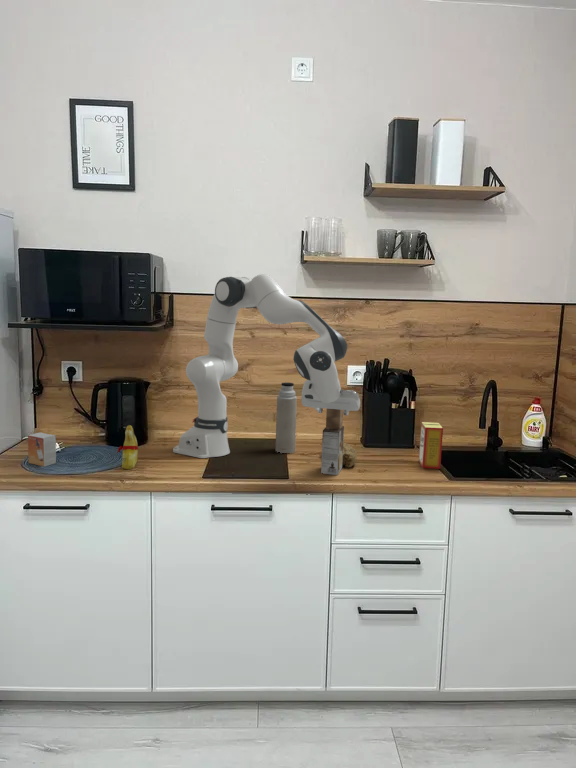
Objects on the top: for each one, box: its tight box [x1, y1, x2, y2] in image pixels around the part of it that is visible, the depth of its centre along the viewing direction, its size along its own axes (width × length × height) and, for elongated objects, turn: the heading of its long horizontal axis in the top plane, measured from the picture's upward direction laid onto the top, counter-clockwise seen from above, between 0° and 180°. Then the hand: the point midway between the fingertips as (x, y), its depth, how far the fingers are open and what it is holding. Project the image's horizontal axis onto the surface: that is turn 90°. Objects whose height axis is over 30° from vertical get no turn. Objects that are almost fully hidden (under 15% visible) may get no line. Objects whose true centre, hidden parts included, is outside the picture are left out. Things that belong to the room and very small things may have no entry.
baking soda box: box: [418, 421, 444, 470], centre depth 221 cm, size 10×6×16 cm
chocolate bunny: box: [116, 424, 139, 470], centre depth 208 cm, size 7×11×15 cm, turn 4°
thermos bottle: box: [275, 382, 298, 454], centre depth 232 cm, size 8×8×28 cm
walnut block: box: [325, 408, 344, 430], centre depth 208 cm, size 5×5×8 cm
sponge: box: [342, 441, 358, 468], centre depth 224 cm, size 13×8×20 cm
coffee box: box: [320, 425, 345, 476], centre depth 209 cm, size 9×6×16 cm
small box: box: [27, 432, 57, 467], centre depth 208 cm, size 8×6×10 cm
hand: (333, 412), depth 204 cm, fingers open, 8 cm apart
